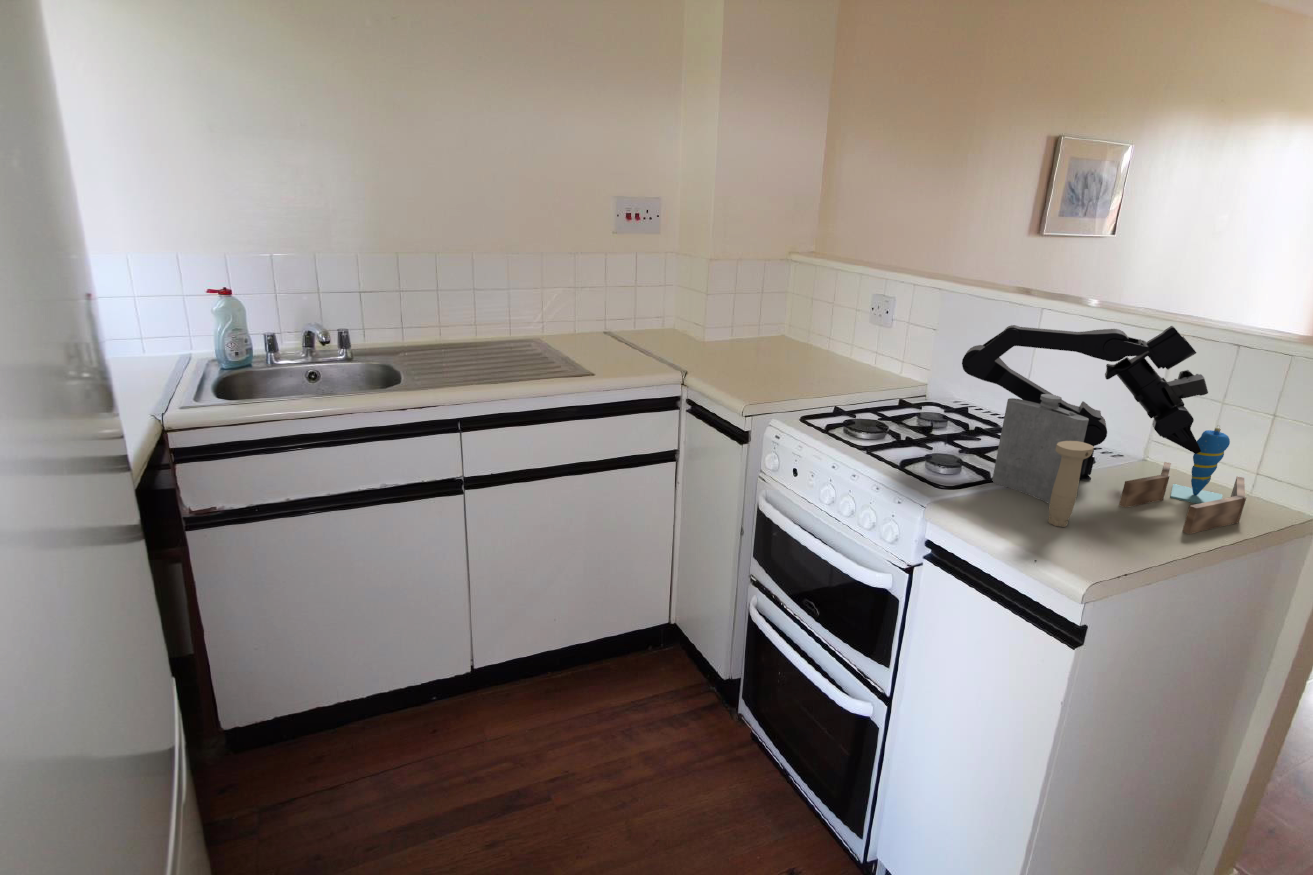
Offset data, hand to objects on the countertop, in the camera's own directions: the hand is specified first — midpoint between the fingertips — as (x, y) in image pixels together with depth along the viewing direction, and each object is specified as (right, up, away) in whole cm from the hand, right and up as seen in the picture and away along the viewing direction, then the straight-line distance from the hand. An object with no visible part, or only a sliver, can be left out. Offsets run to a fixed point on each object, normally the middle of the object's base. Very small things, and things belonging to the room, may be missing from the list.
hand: (1194, 445), depth 150 cm
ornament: (+2, -10, +2) cm, 10 cm away
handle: (-34, -14, -13) cm, 39 cm away
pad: (+2, -10, +2) cm, 11 cm away
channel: (-4, -12, -4) cm, 13 cm away
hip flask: (-32, -10, +1) cm, 33 cm away
